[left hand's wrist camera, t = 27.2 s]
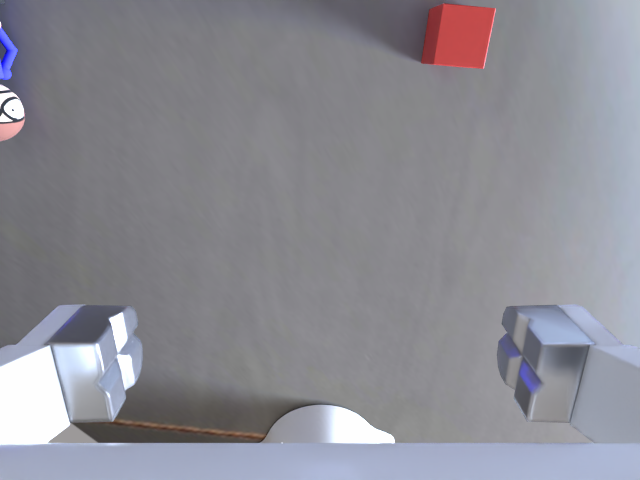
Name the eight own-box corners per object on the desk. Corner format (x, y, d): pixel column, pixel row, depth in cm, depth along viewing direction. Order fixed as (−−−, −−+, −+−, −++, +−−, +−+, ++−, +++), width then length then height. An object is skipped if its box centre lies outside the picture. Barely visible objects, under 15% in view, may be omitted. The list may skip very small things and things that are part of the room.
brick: (476, 13, 40) (496, 8, 36) (466, 67, 42) (483, 68, 38) (429, 9, 40) (443, 3, 36) (421, 63, 42) (433, 64, 38)
